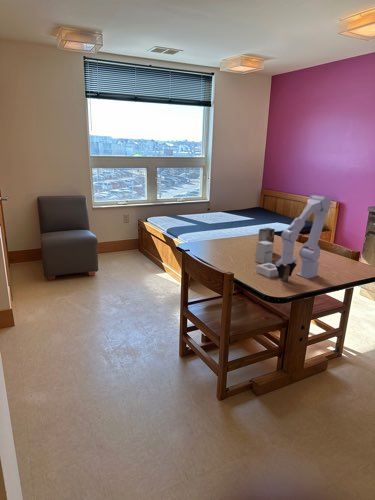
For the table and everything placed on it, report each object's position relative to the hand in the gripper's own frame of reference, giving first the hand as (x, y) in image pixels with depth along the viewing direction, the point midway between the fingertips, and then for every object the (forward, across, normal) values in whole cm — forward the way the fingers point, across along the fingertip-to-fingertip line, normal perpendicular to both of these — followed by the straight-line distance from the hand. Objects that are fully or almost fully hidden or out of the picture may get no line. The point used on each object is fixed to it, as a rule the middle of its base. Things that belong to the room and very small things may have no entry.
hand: (284, 276), depth 183 cm
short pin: (+2, -12, -18) cm, 22 cm away
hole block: (+2, -1, -12) cm, 12 cm away
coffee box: (+2, -30, -43) cm, 52 cm away
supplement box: (+2, -13, -28) cm, 31 cm away
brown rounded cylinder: (+2, 0, 0) cm, 2 cm away
